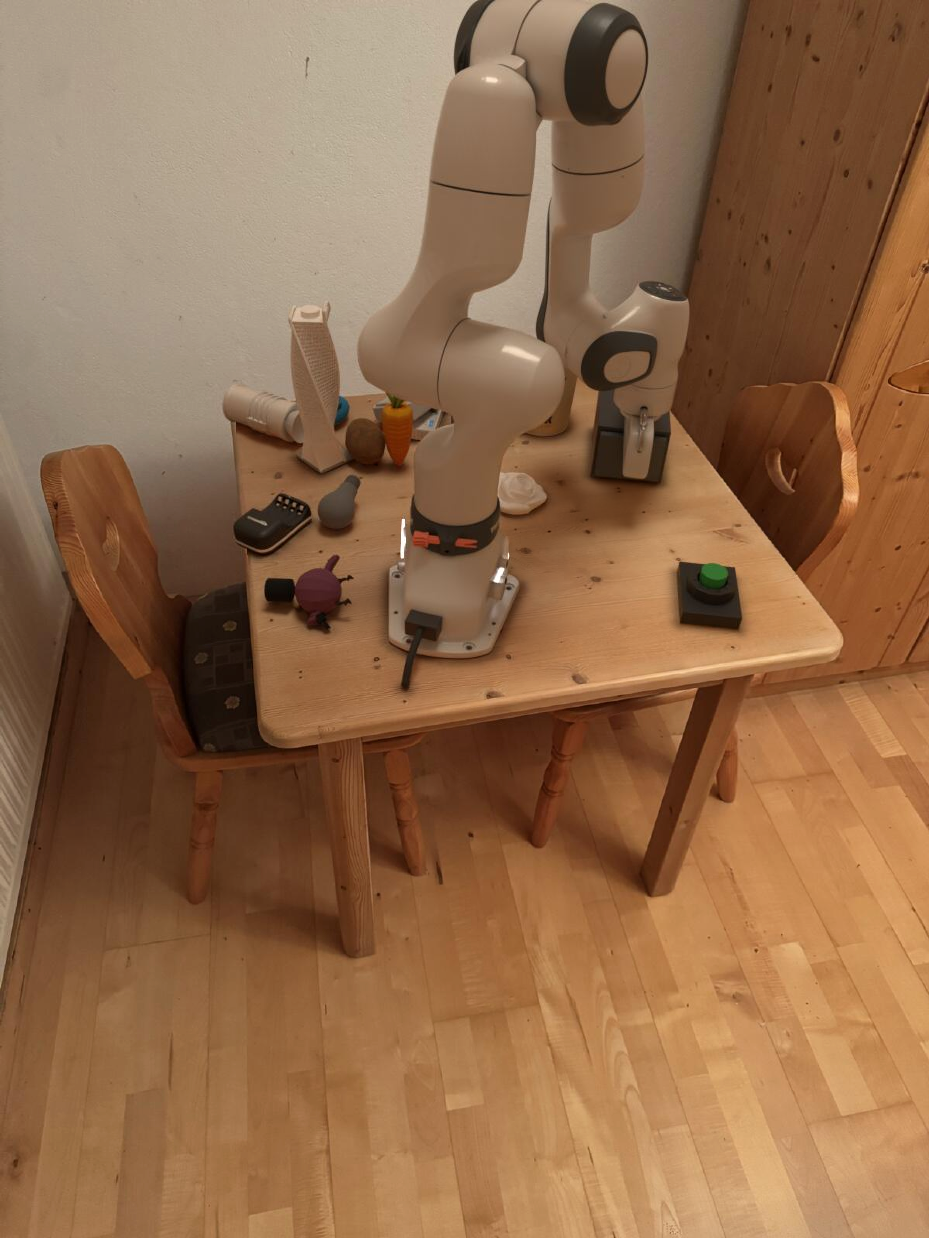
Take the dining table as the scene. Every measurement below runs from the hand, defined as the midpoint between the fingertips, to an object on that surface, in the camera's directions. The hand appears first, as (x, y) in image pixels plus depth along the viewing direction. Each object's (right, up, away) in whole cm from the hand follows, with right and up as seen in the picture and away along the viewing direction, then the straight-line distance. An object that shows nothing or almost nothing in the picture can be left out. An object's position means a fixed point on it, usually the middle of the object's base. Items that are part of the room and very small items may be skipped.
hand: (629, 470), depth 143 cm
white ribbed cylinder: (-54, +9, +8) cm, 55 cm away
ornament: (-48, +12, +13) cm, 51 cm away
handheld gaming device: (-40, +12, +10) cm, 43 cm away
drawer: (+1, +3, +8) cm, 9 cm away
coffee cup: (-13, +11, +18) cm, 25 cm away
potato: (-43, +8, +3) cm, 44 cm away
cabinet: (+1, +4, +11) cm, 11 cm away
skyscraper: (-50, +3, +7) cm, 50 cm away
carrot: (-38, +2, +6) cm, 38 cm away
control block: (+8, -21, -17) cm, 28 cm away
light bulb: (-43, -2, -4) cm, 44 cm away
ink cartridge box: (-31, +11, +15) cm, 36 cm away
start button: (+8, -19, -19) cm, 28 cm away
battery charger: (-53, -6, -5) cm, 53 cm away
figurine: (-54, -20, -21) cm, 61 cm away
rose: (-18, -5, 0) cm, 19 cm away
